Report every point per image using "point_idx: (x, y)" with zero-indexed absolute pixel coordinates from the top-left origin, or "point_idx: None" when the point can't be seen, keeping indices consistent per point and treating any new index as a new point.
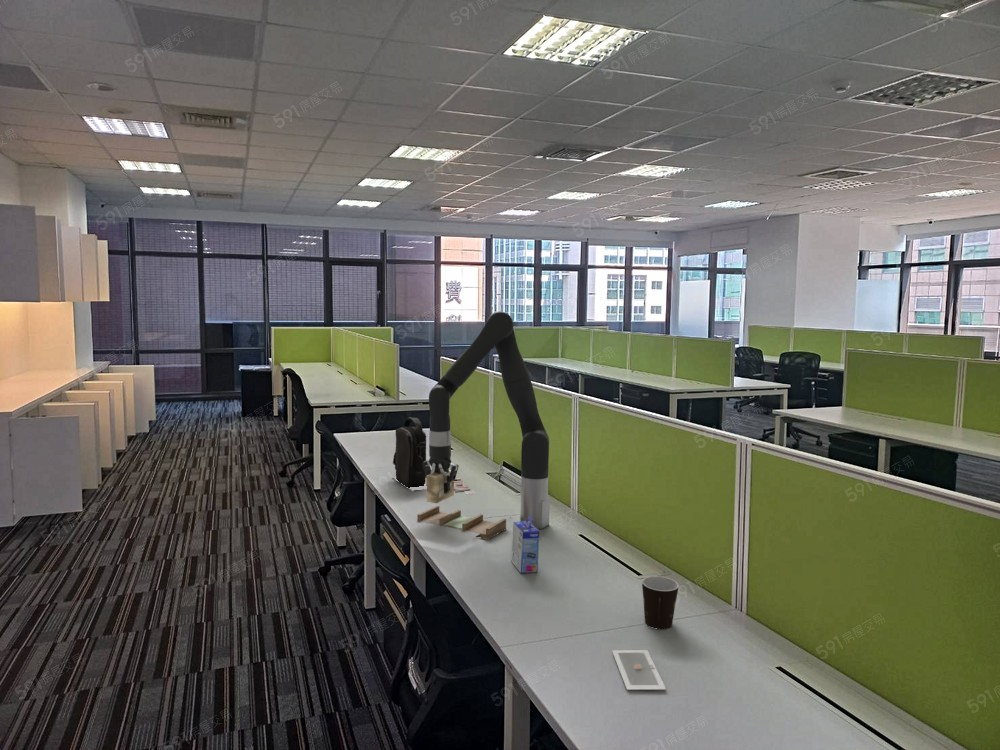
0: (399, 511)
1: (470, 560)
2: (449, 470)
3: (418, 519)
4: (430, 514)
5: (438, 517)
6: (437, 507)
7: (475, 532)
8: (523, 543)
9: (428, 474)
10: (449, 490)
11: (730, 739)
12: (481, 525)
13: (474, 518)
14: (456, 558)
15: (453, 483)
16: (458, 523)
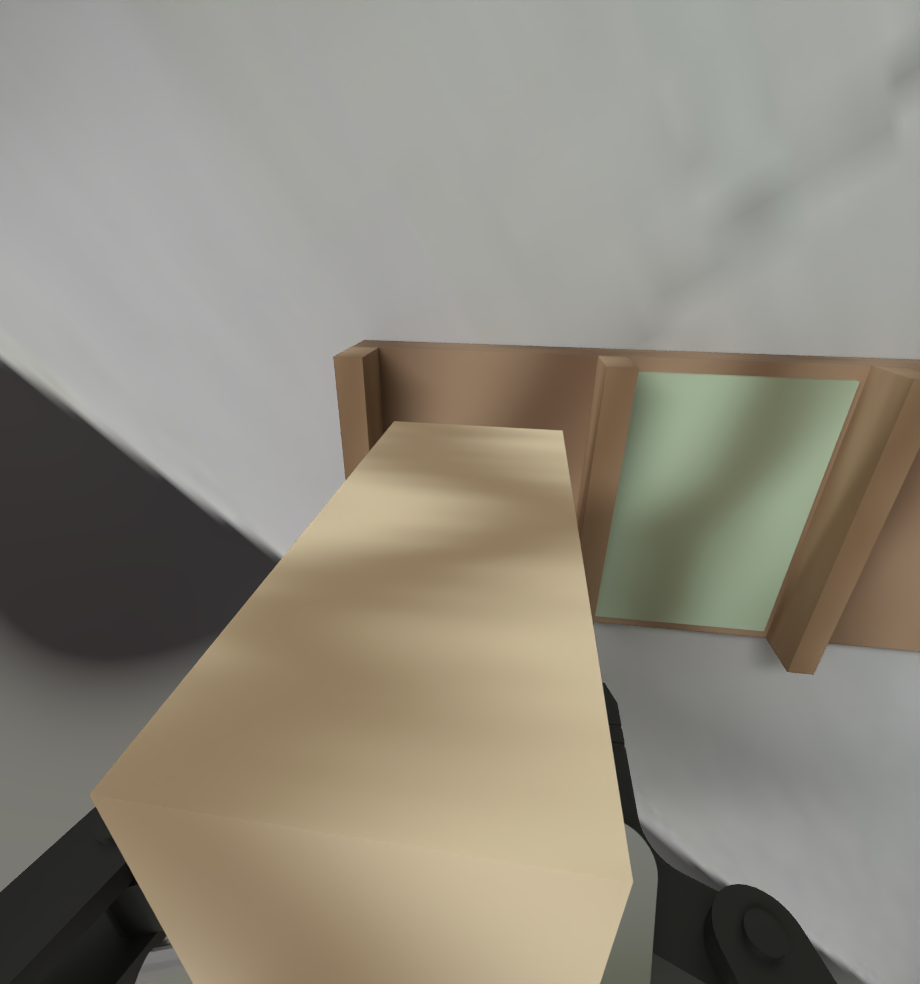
0: (76, 407)
1: (909, 866)
2: (471, 935)
3: None
4: None
5: None
6: (366, 393)
7: (888, 648)
8: None
9: (139, 962)
10: (609, 700)
11: None
12: (913, 505)
13: (869, 531)
14: (828, 863)
15: (575, 536)
16: (694, 554)
